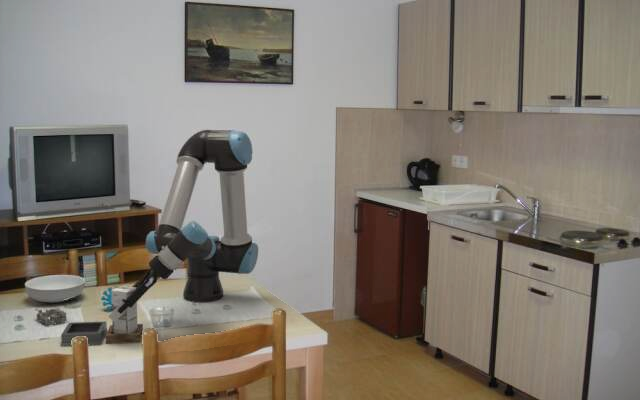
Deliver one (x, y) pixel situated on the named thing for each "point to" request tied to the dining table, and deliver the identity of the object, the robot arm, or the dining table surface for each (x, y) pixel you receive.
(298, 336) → the dining table surface
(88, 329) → the dark grey square tray
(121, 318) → the syrup box
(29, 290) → the serving bowl
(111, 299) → the gear
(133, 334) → the walnut collar
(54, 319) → the grey lumpy mound
